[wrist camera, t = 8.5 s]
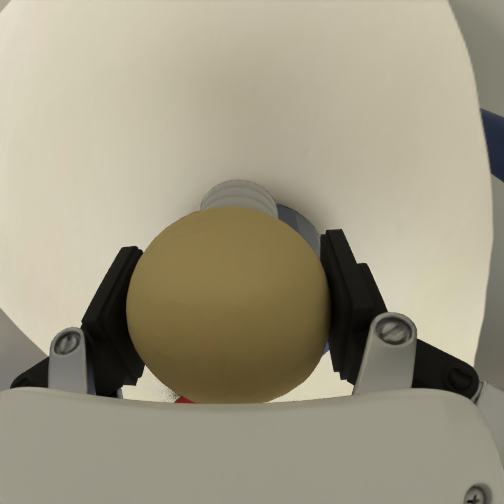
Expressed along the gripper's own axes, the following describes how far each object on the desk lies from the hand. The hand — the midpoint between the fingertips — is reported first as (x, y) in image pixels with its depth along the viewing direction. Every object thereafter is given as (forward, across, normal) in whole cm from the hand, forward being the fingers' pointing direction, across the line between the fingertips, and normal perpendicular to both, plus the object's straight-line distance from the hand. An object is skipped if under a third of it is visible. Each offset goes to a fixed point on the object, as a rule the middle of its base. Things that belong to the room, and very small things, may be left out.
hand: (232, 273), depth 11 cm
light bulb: (+5, 0, 0) cm, 5 cm away
